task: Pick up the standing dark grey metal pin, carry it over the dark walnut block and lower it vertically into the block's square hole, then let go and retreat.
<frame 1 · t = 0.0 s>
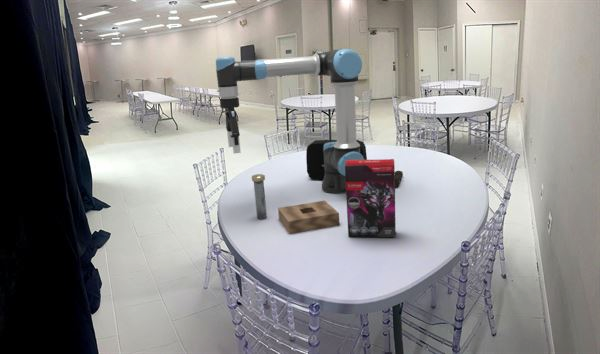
hand: (234, 149, 181), 28 cm above the table, fingers open, 13 cm apart
hand tool: (398, 183, 217), on the table
graphics card box: (371, 234, 159), on the table
hole block: (308, 222, 174), on the table
black hard case: (338, 178, 231), on the table
pin: (261, 217, 182), on the table
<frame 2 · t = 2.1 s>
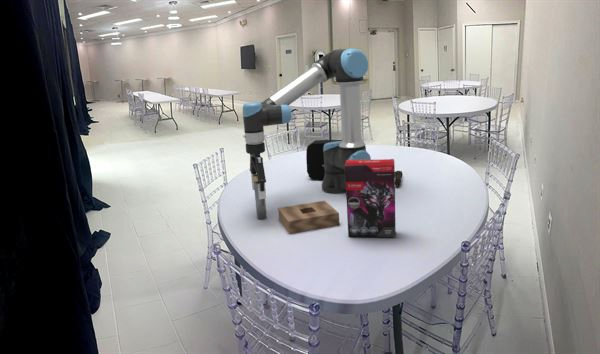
hand: (259, 193, 179), 10 cm above the table, fingers open, 13 cm apart
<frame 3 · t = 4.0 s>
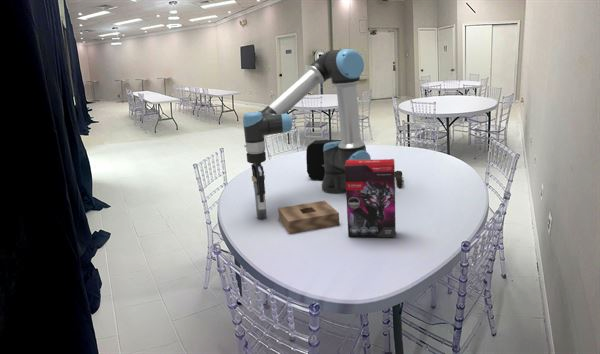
hand: (261, 207, 181), 5 cm above the table, fingers closed on pin, 4 cm apart
pin: (262, 217, 182), on the table, touching gripper
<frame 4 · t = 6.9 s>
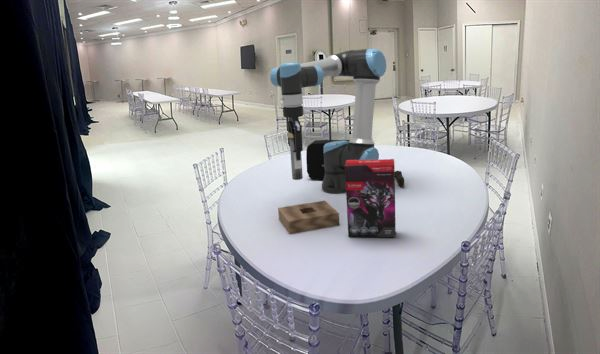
hand: (296, 166, 169), 23 cm above the table, fingers closed on pin, 4 cm apart
pin: (297, 178, 171), point 18 cm above the table, touching gripper
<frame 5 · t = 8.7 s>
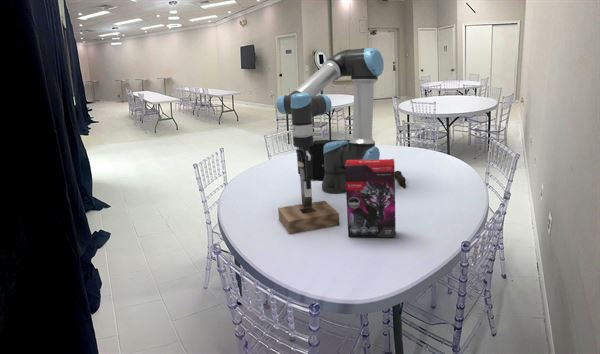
hand: (306, 194, 171), 11 cm above the table, fingers closed on pin, 4 cm apart
pin: (307, 205, 172), point 7 cm above the table, touching gripper
when the fingers open (7 cm above the table, at t = 10.2 s): pin drops 2 cm, resting in hole block.
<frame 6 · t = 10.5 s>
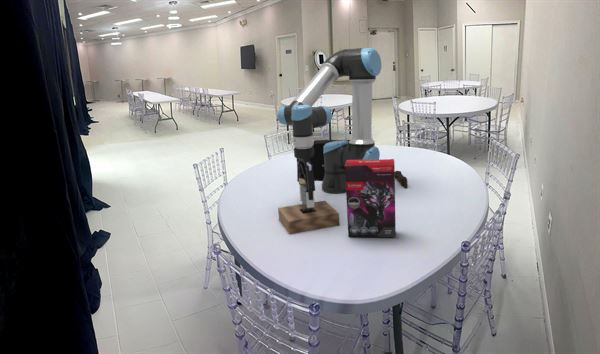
hand: (307, 203, 172), 8 cm above the table, fingers open, 8 cm apart
pin: (308, 222, 174), resting in hole block
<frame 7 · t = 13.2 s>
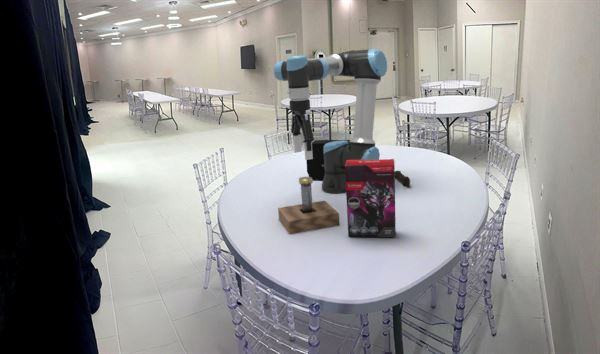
hand: (303, 155, 168), 27 cm above the table, fingers open, 13 cm apart
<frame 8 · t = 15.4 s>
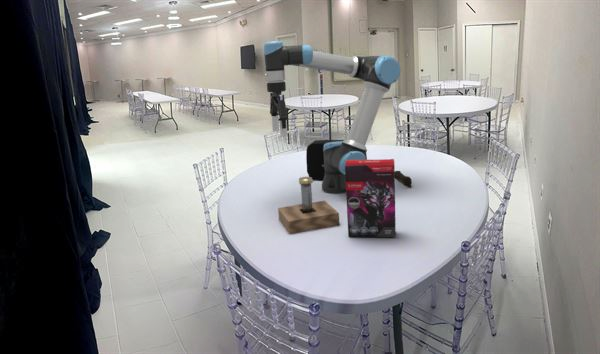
hand: (279, 133, 183), 33 cm above the table, fingers open, 13 cm apart
at the end: pin 0.0 cm off-centre on the hole block, point 0.0 cm above the hole block's base; pin tilted 0°; the gripper is holding nothing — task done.
